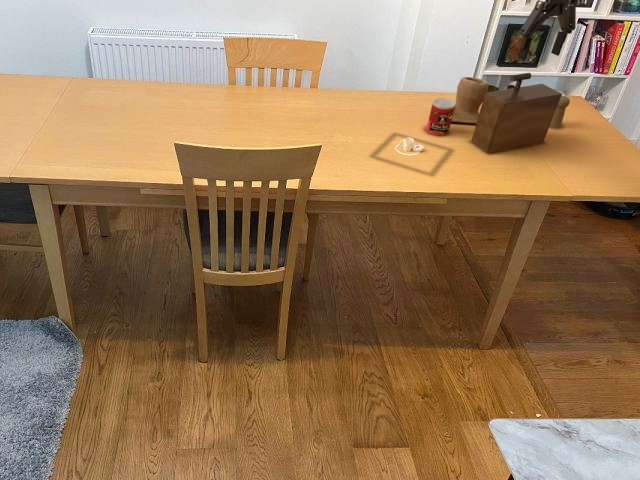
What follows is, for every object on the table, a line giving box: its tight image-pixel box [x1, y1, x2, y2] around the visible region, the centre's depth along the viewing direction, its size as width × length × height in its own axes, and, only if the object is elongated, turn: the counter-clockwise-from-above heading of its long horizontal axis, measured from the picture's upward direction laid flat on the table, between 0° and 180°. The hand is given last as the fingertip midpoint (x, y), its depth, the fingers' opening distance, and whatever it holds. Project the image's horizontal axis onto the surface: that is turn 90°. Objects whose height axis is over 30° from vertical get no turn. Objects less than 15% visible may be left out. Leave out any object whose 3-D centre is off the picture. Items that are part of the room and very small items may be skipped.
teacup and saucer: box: [394, 137, 424, 156], centre depth 194 cm, size 9×8×4 cm
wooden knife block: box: [470, 72, 563, 155], centre depth 194 cm, size 23×24×9 cm
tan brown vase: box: [451, 76, 490, 124], centre depth 210 cm, size 15×12×15 cm
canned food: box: [426, 97, 456, 137], centre depth 203 cm, size 8×8×11 cm
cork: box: [549, 95, 571, 129], centre depth 210 cm, size 6×6×11 cm
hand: (538, 56), depth 181 cm, fingers open, 13 cm apart
